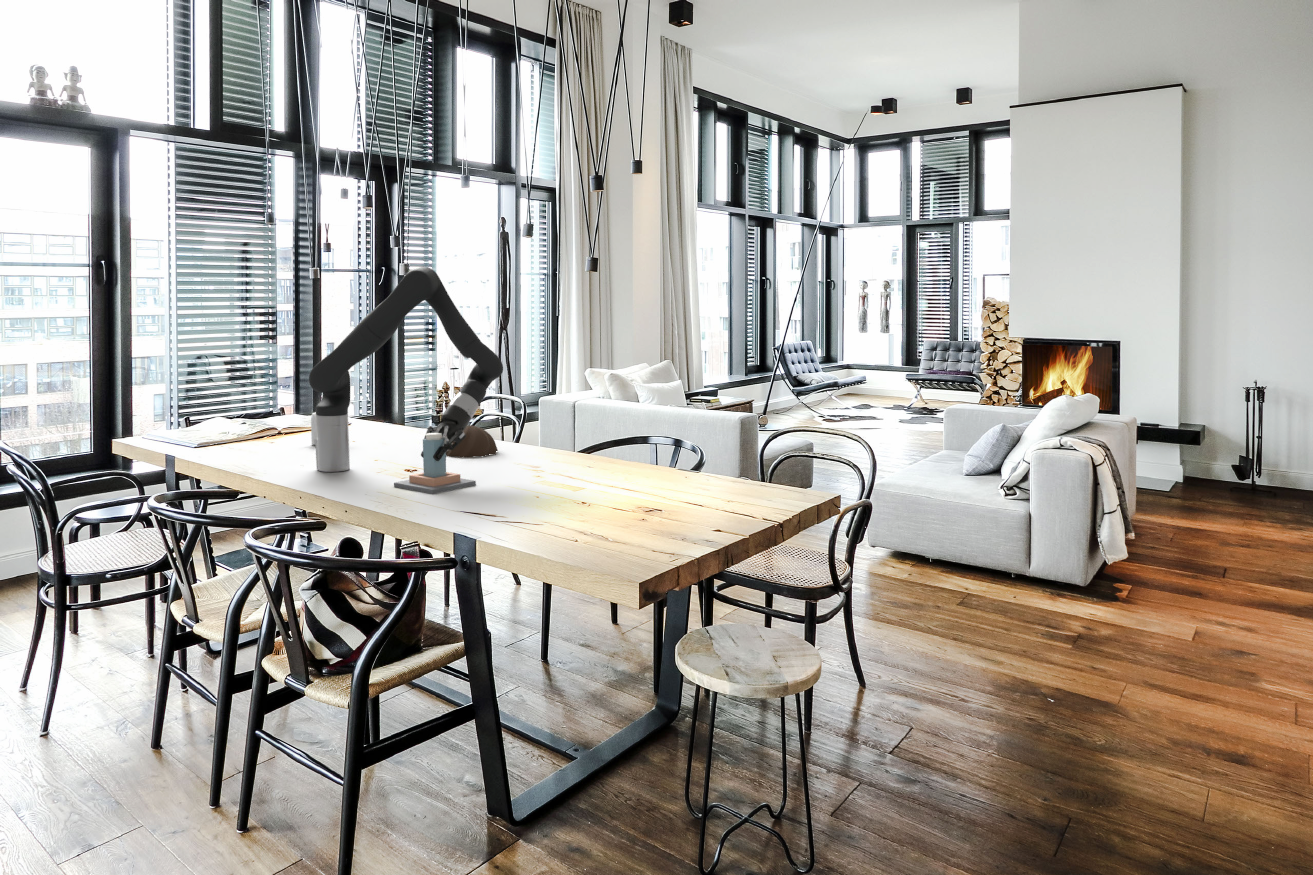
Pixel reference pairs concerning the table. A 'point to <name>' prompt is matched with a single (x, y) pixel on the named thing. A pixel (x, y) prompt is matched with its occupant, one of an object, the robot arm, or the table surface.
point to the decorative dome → (474, 444)
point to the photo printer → (313, 428)
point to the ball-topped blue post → (429, 449)
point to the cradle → (434, 483)
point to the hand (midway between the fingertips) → (429, 458)
